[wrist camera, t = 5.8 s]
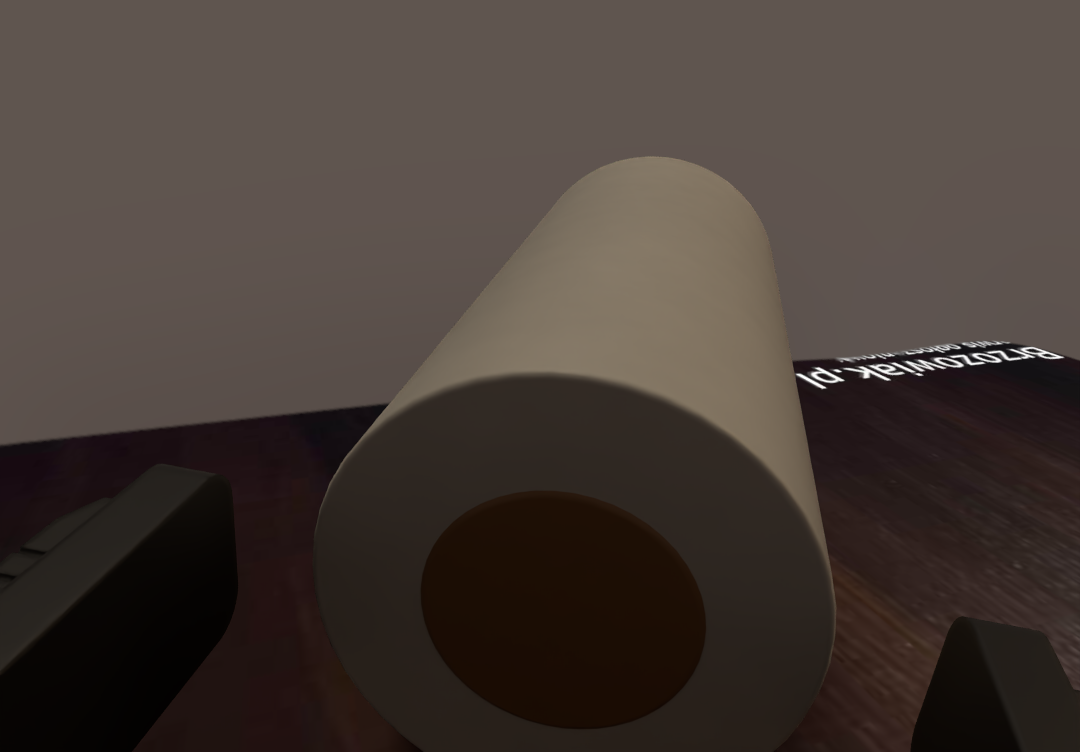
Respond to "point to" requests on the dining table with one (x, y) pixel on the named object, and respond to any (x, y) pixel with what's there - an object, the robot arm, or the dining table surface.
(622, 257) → the paper towel roll
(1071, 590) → the dining table surface
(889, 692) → the dining table surface
